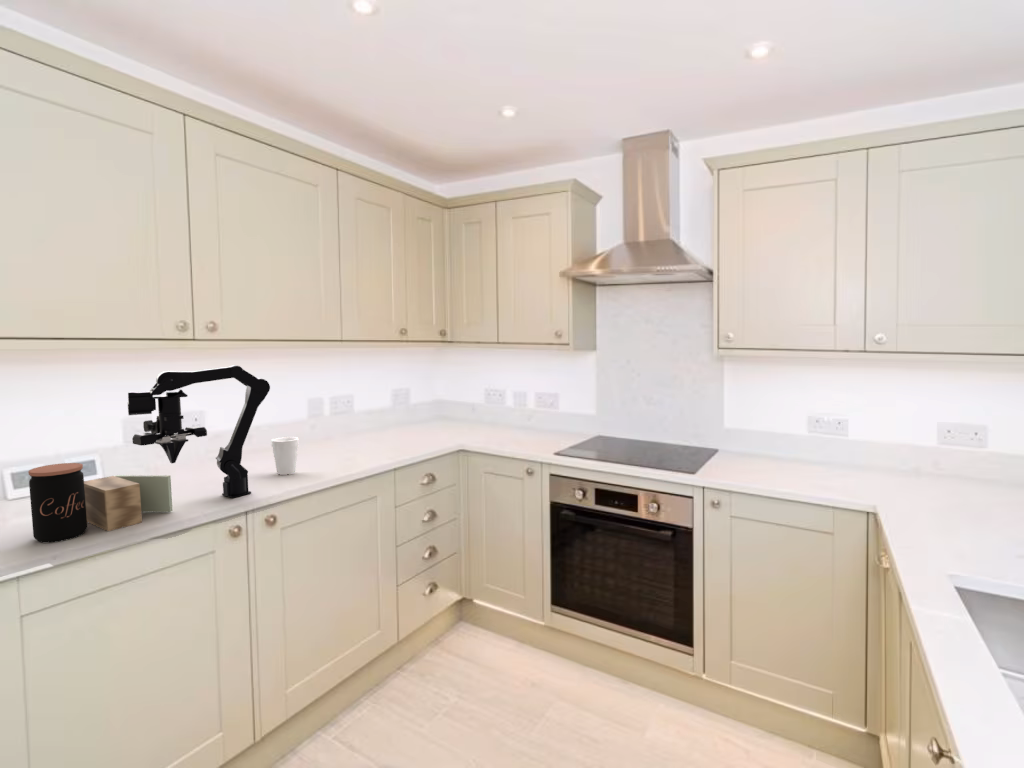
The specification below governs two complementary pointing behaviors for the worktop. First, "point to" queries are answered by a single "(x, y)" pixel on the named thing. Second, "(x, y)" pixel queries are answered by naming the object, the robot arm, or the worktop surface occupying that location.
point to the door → (153, 492)
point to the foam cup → (285, 454)
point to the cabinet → (112, 502)
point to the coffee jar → (57, 502)
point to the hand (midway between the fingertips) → (172, 463)
